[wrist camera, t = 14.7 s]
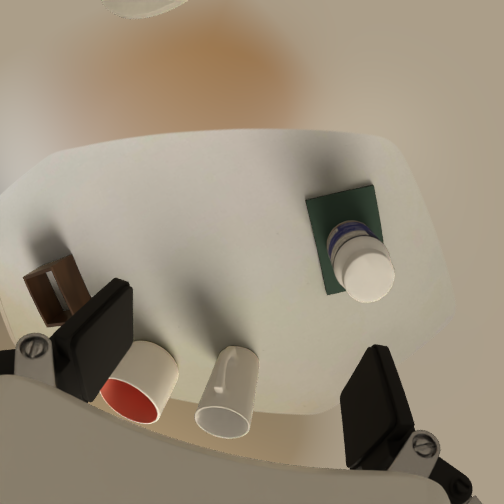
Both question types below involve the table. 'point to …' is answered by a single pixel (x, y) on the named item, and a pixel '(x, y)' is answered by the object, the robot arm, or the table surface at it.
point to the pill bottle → (360, 261)
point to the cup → (141, 383)
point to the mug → (229, 394)
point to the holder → (68, 286)
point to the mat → (335, 212)
